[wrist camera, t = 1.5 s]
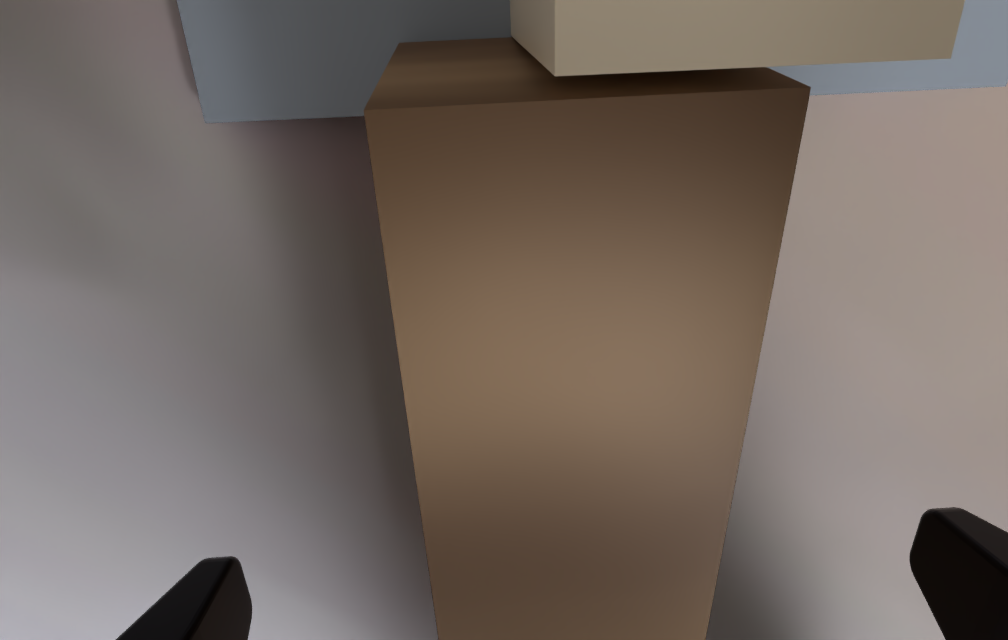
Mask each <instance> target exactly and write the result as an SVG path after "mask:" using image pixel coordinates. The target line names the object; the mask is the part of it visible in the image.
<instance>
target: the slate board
mask: <svg viewBox="0 0 1008 640" xmlns="http://www.w3.org/2000/svg"><path fill="white" fill-rule="evenodd" d="M177 4H178V8H179V13H180V17H181V21H182V26H183V30H184V34H185V39H186V43H187V47H188V52H189V56H190V60H191V65H192V69H193V73H194V78H195V82H196V86H197V91H198V95H199V99H200V104H201V108H202V112H203V117H204V121H205V123H223V122H245V121H266V120H288V119H309V118H331V117H353V116H364V108H365V106H366V104H367V102H368V101H369V99H370V97H371V95H372V93H373V91H374V89H375V87H376V85H377V83H378V82H379V80H380V78H381V76H382V74H383V72H384V70H385V68H386V66H387V65H388V63H389V61H390V59H391V57H392V55H393V53H394V51H395V49H396V47H397V46H398V44H399V43H403V42H424V41H445V40H465V39H486V38H507V37H513V38H514V39H515V40H516V41H517V42H518V43H519V44H520V45H522V46H523V47H524V48H525V49H526V50H527V51H528V52H529V53H530V54H531V55H532V56H533V57H535V58H536V59H537V60H538V61H539V62H540V63H541V64H542V65H543V66H544V67H545V68H546V69H547V70H549V71H550V72H551V73H552V74H553V75H554V76H573V75H595V74H618V73H640V72H662V71H685V70H707V69H730V68H752V67H768V68H770V69H772V70H774V71H776V72H779V73H781V74H783V75H785V76H787V77H790V78H792V79H794V80H796V81H799V82H801V83H803V84H805V85H807V86H810V87H811V90H810V95H828V94H850V93H872V92H893V91H915V90H937V89H958V88H980V87H1001V86H1006V84H1007V81H1008V0H177Z"/></svg>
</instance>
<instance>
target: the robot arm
mask: <svg viewBox="0 0 1008 640" xmlns="http://www.w3.org/2000/svg"><path fill="white" fill-rule="evenodd" d="M910 566H911V570H912V572H913V575H914V577H915V579H916V581H917V583H918V585H919V587H920V589H921V591H922V593H923V595H924V597H925V599H926V601H927V603H928V605H929V607H930V609H931V611H932V613H933V615H934V617H935V619H936V621H937V623H938V625H939V627H940V629H941V631H942V633H943V635H944V637H945V639H946V640H1008V532H1006V531H1004V530H1002V529H1000V528H998V527H996V526H994V525H992V524H990V523H989V522H987V521H985V520H983V519H981V518H979V517H977V516H975V515H973V514H971V513H970V512H968V511H966V510H964V509H961V508H955V507H951V508H936V509H929V510H927V511H926V512H925V513H924V514H923V515H922V517H921V519H920V523H919V526H918V529H917V532H916V535H915V538H914V542H913V545H912V548H911V551H910ZM251 619H252V602H251V598H250V594H249V591H248V587H247V584H246V580H245V577H244V574H243V570H242V567H241V564H240V562H239V560H238V559H237V558H236V557H232V556H228V557H214V558H206V559H204V560H202V561H200V562H199V563H198V564H197V565H196V566H194V567H193V568H192V569H191V570H190V571H189V572H188V573H187V574H186V575H185V576H184V577H183V578H182V579H180V580H179V581H178V582H177V583H176V584H175V585H174V586H173V587H172V588H171V589H170V590H169V591H168V592H166V593H165V594H164V595H163V596H162V597H161V598H160V599H159V600H158V601H157V602H156V603H155V604H154V605H152V606H151V607H150V608H149V609H148V610H147V611H146V612H145V613H144V614H143V615H142V616H141V617H140V618H139V619H137V620H136V621H135V622H134V623H133V624H132V625H131V626H130V627H129V628H128V629H127V630H126V631H125V632H123V633H122V634H121V635H120V636H119V637H118V638H117V639H116V640H248V635H249V630H250V624H251Z"/></svg>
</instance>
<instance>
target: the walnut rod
mask: <svg viewBox="0 0 1008 640" xmlns="http://www.w3.org/2000/svg"><path fill="white" fill-rule="evenodd" d="M810 90H811V87H810V86H807V85H805V84H803V83H801V82H799V81H796V80H794V79H792V78H790V77H787V76H785V75H783V74H781V73H779V72H776V71H774V70H772V69H770V68H768V67H752V68H730V69H707V70H685V71H662V72H640V73H618V74H595V75H573V76H554V75H553V74H552V73H551V72H550V71H549V70H547V69H546V68H545V67H544V66H543V65H542V64H541V63H540V62H539V61H538V60H537V59H536V58H535V57H533V56H532V55H531V54H530V53H529V52H528V51H527V50H526V49H525V48H524V47H523V46H522V45H520V44H519V43H518V42H517V41H516V40H515V39H514V38H513V37H507V38H486V39H465V40H445V41H424V42H403V43H399V44H398V46H397V47H396V49H395V51H394V53H393V55H392V57H391V59H390V61H389V63H388V65H387V66H386V68H385V70H384V72H383V74H382V76H381V78H380V80H379V82H378V83H377V85H376V87H375V89H374V91H373V93H372V95H371V97H370V99H369V101H368V102H367V104H366V106H365V108H364V117H365V124H366V131H367V138H368V145H369V153H370V160H371V167H372V174H373V181H374V188H375V195H376V202H377V209H378V216H379V223H380V230H381V237H382V244H383V251H384V258H385V265H386V272H387V279H388V287H389V294H390V301H391V308H392V315H393V322H394V329H395V336H396V343H397V350H398V357H399V364H400V371H401V378H402V385H403V392H404V399H405V406H406V413H407V421H408V428H409V435H410V442H411V449H412V456H413V463H414V470H415V477H416V484H417V491H418V498H419V505H420V512H421V519H422V526H423V533H424V540H425V547H426V555H427V562H428V569H429V576H430V583H431V590H432V597H433V604H434V611H435V618H436V625H437V632H438V639H439V640H705V639H706V634H707V629H708V623H709V618H710V613H711V608H712V602H713V597H714V592H715V587H716V582H717V576H718V571H719V566H720V561H721V555H722V550H723V545H724V540H725V534H726V529H727V524H728V519H729V514H730V508H731V503H732V498H733V493H734V487H735V482H736V477H737V472H738V467H739V461H740V456H741V451H742V446H743V440H744V435H745V430H746V425H747V419H748V414H749V409H750V404H751V399H752V393H753V388H754V383H755V378H756V372H757V367H758V362H759V357H760V352H761V346H762V341H763V336H764V331H765V325H766V320H767V315H768V310H769V304H770V299H771V294H772V289H773V284H774V278H775V273H776V268H777V263H778V257H779V252H780V247H781V242H782V237H783V231H784V226H785V221H786V216H787V210H788V205H789V200H790V195H791V189H792V184H793V179H794V174H795V169H796V163H797V158H798V153H799V148H800V142H801V137H802V132H803V127H804V122H805V116H806V111H807V106H808V101H809V95H810Z"/></svg>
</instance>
